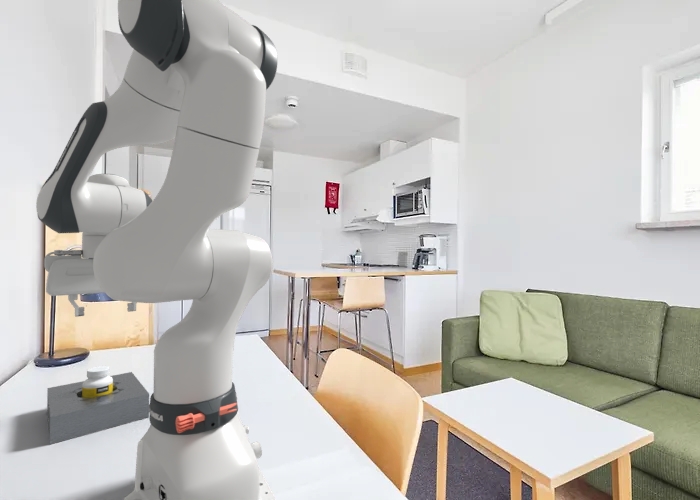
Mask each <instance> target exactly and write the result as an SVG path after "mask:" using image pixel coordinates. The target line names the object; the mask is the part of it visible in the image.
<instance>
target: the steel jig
mask: <svg viewBox="0 0 700 500" xmlns="http://www.w3.org/2000/svg"><path fill="white" fill-rule="evenodd" d="M109 376H110V377H112V379H113V392H111V393H109V394H106V395H102V396H97V397H93V398H82V385H83V382H84V381H85V380H83V381H78V382H77V381H76V382H73V383H67V384H62V385H58V386H52V387H48V388H47V390H46V391H47V393H46V394H47V395H46V397H47V401H46V405H47V406H46V408H47V409H46V412H47V424H48V425H47V426H48V439H49V445H54V444H57V443H60V442H64V441H69V440H72V439H76V438H79V437H82V436H86V435H90V434H94V433H97V432H100V431H105V430H108V429H111V428H116V427H120V426H122V425H127V424H130V423H133V422H137V421H141V420H143V419H144V420H145V419H149V418H150V413H149V404H150V392H148V391H147V389H146V388H145V386H144V385H143V384H142V383H141V382H140V380H139V379H138V378H137V377H136V375H135V374H134V373H133V372H132V371H129V372H125V373H119V374H114V375H109Z"/></svg>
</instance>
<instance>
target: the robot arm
mask: <svg viewBox="0 0 700 500" xmlns="http://www.w3.org/2000/svg"><path fill="white" fill-rule="evenodd" d="M117 13H118V17H117V18H118V26H119V30H120V32H121V34H122V36H123V37H124V39H125V41H126V42H127V43H128V45H129V46H130V47H131V48H132V49H133V50H132V53H131V54H130V57H129V60H128V63H127V65H126V69H125V72H124V76H123V79H122V80H121V83H120V85H119V86H118V88H117V89H116V90H115V91H114V92H113V94H111V96H109V97H108V98H106V99H104V100H103V101H98V102H97V101H96V102H93V103H91V104H90V105H89V107H87V109H85V111H84V112H83V114H82V116H81V118H80V119H79V121H78V123H77V124H76V126H75V128H74V130H73V131H72V134H71V135H70V137H69V140H68V141H67V144H66V145H65V148H64V150H63V152H62V153H61V156H60V157H59V160H58V161H57V163H56V166H55V167H54V169H53V171H52V172H51V173H50V175H49V176H48V178H47V179H46V180H45V182H44V183H43V185H42V186H41V188H40V191H39V193H38V194H37V199H36V205H35V206H36V213H37V219H38V220H39V221H40V222H41V223H42V224H44V225H45V226H46V227H48V228H49V229H50V230H53V231H54V232H55V233H57V234H79V233H82V234H81V249H69V250H67V249H66V250H65V249H64V250H63V249H56V250H55V249H54V251H51V252H49V253H46V255H45V256H44V258H43V259H44V260H43V267H44V269H45V270H46V272H47V278H46V285H45V286H46V287H45V292H46V294H47V295H49V296H50V297H56V296H58V297H59V296H68V298H67V300H68V302H70V303H71V305H72V307H73V308H74V316H75V317H76V318H78V317H84V316H85V307H84V306H79V305H78V304H77V302H76V301H77V300H78V295H93V294H106V296H108V297H109V298H110V299H111V300H113V301H119V302H127V303H126V305H127V306H126V307H127V309H126V310H127V312H137V304H138V303H141V304H159V303H161V304H162V303H172V302H179V301H181V302H182V301H190V300H191V301H192V303H191V306H190V307H189V310H188V312H187V313H186V315H185V316H184V317H183V318H182V319H181V320H180V321H179V322H177V323H176V324H174V325H172V326H170V327H169V328H168V329H167V330H165V331H164V332H163V334H161V336H160V337H159V338H158V340H157V342H156V343H155V344H156V345H155V346H154V349H153V392H152V393H151V395H150V396H149V417H148V419H149V423H150V425H149V428H148V429H147V430H146V432H145V434H144V435H143V437H141V438H140V440H139V441H138V443H137V445H136V446H137V447H136V448H137V449H136V459H135V460H136V463H135V478H134V480H135V481H134V489H133V490H132V491H131V492H130V493H128V495H126V496H125V497H124V498H123V499H122V500H277V498H276V496H275V494H274V492H273V491H272V489H271V487H270V485H269V483H268V482H267V480H266V477H265V475H264V474H263V472H262V470H261V468H260V466H259V462H258V460H259V459H261V458H262V455H263V450H262V446H261V442H260V441H255V442H252V443H251V441H250V439H249V436H248V435H249V431H250V429H249V426H248V424H246V425H243V422H242V420H241V417H240V414H239V406H238V394H237V390H236V386H235V383H234V382H233V368H234V367H233V363H234V362H233V361H234V350H235V349H234V348H235V341H236V340H235V339H236V335H237V334H236V333H237V330H238V327H239V324H240V321H241V318H242V316H243V314H244V312H245V310H246V308H247V306H248V304H249V303H250V301H252V299H253V298H254V296H255V295H256V294H257V293H258V292H259V290H261V289H262V288H263V287H264V286H265V285H267V283H268V281H269V280H270V277H271V275H272V271H273V267H274V260H273V254H272V250H271V248H270V246H269V244H268V243H267V242H266V240H265V239H263V237H260V236H259V235H255V234H252V233H249V232H244V231H240V230H237V229H220V228H219V229H217V228H210V227H211V226H212V225H213V223H214V222H215V221H216V220H217V219H219V217H221V216H222V215H223V214H225V213H227V212H230V211H232V210H235V209H237V208H239V207H240V206H242V205H243V204H244V203H245V202H246V200H247V199H248V197H249V196H250V193H251V189H252V184H253V179H254V176H255V171H256V167H257V162H258V159H259V153H260V148H261V144H262V138H263V134H264V133H263V132H264V126H265V120H266V119H265V116H266V103H267V90H268V89H269V88H270V86H271V85H272V84H273V82H274V80H275V79H276V78H275V77H276V74H277V69H278V52H277V51H278V50H277V48H276V45H275V43H274V42H273V40H272V39H271V38H270V37H269V36H268V35H267V34H266V33H265V32H264V31H263V30H262V29H261V28H260V27H258V26H256V25H254V24H251V23H249V22H248V21H247V20H246V19H244V18H243V17H242V16H241V15H239V14H238V13H236V12H235V11H233V10H232V9H230V8H229V7H227V6H226V5H224V4H223V2H221V0H117ZM173 140H174V142H173V147H172V153H171V155H170V157H171V158H170V160H169V164H168V165H169V166H168V169H167V172H166V175H165V179H164V182H163V183H162V186H161V187H160V189H159V191H158V193H157V195H156V196H155V197H154V199H152V198H151V197H150V195H149V194H148V193H147V192H146V191H145V190H144V189H140V188H137V187H133V186H131V185H130V183H129V180H128V179H127V178H125V177H123V176H121V175H117V174H113V173H96V174H92V173H93V171H94V169H95V167H96V166H97V163H98V162H99V161H100V158H101V157H103V155H105V154H106V153H108V152H110V151H114V150H117V149H121V148H127V147H134V146H152V145H153V146H154V145H161V144H165V143H168V142H171V141H173Z"/></svg>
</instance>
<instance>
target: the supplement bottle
mask: <svg viewBox="0 0 700 500" xmlns="http://www.w3.org/2000/svg"><path fill="white" fill-rule="evenodd" d="M110 376H111V375H110V366H108V365H98V366H94V367H90V368H88V369H86V378H87V379H85V380H83V381H84V382H83V385H82V398H93V397H97V396H102V395H106V394H109V393H111V392H113V379H112V377H110Z"/></svg>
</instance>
